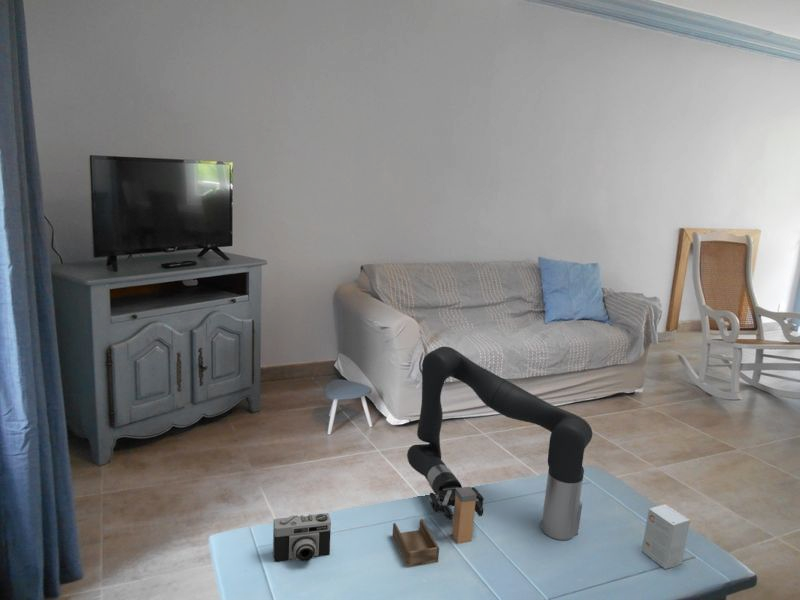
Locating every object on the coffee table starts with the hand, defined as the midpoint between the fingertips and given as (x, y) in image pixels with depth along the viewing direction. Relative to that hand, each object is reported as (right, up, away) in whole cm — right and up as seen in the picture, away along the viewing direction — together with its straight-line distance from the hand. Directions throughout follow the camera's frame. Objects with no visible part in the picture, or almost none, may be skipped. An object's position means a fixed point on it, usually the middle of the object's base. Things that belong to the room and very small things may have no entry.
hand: (466, 515), depth 159 cm
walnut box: (-14, -8, -2) cm, 16 cm away
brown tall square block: (-1, -7, +3) cm, 8 cm away
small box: (+52, -12, +1) cm, 53 cm away
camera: (-42, -8, -8) cm, 44 cm away
